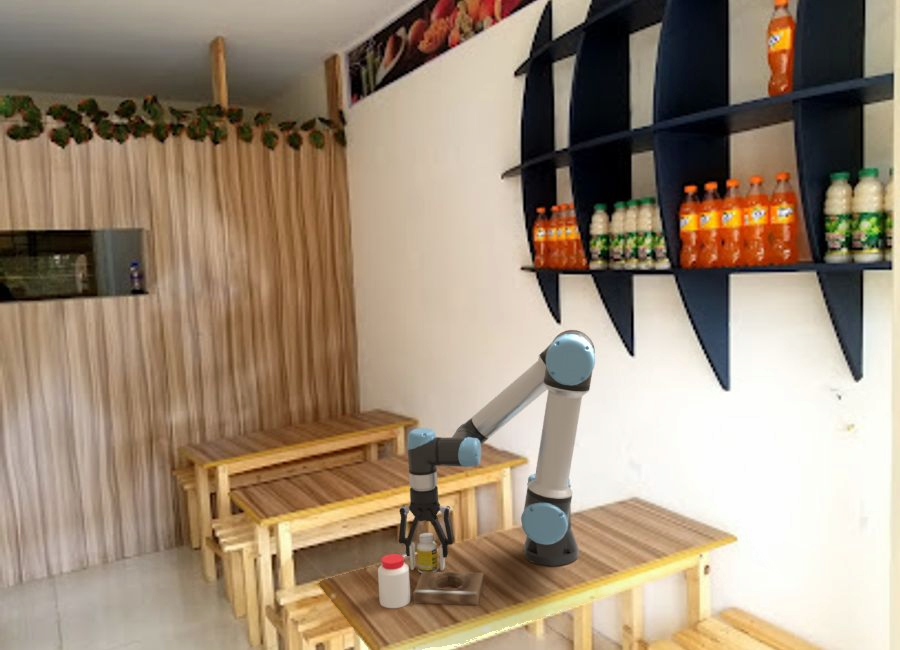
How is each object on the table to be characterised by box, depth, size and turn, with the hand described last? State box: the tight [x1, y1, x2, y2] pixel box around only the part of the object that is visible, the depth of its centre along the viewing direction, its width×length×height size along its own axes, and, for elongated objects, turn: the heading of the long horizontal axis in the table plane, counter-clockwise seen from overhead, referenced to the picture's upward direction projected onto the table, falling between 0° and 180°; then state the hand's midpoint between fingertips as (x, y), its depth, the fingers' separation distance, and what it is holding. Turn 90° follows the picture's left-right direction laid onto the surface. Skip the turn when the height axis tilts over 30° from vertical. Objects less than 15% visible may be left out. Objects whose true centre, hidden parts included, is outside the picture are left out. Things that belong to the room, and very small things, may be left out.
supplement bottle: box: [416, 532, 439, 574], centre depth 193 cm, size 5×5×10 cm
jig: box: [412, 571, 485, 606], centre depth 180 cm, size 16×12×3 cm
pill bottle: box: [377, 553, 411, 609], centre depth 177 cm, size 8×8×11 cm
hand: (427, 567), depth 194 cm, fingers open, 8 cm apart
